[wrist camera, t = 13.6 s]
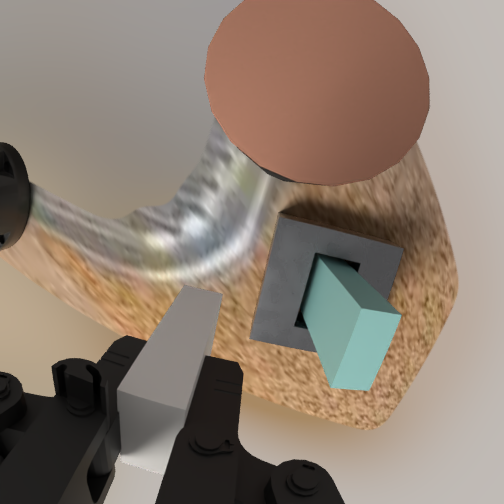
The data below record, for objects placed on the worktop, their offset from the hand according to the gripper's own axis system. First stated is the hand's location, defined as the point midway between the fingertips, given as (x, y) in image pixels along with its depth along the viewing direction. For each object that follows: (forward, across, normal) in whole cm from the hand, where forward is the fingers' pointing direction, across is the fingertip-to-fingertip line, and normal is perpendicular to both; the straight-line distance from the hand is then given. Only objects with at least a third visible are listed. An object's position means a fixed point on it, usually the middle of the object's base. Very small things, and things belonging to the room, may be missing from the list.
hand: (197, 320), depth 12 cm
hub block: (+20, +10, -3) cm, 23 cm away
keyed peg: (+20, +10, -3) cm, 22 cm away
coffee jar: (+21, +4, +11) cm, 24 cm away
